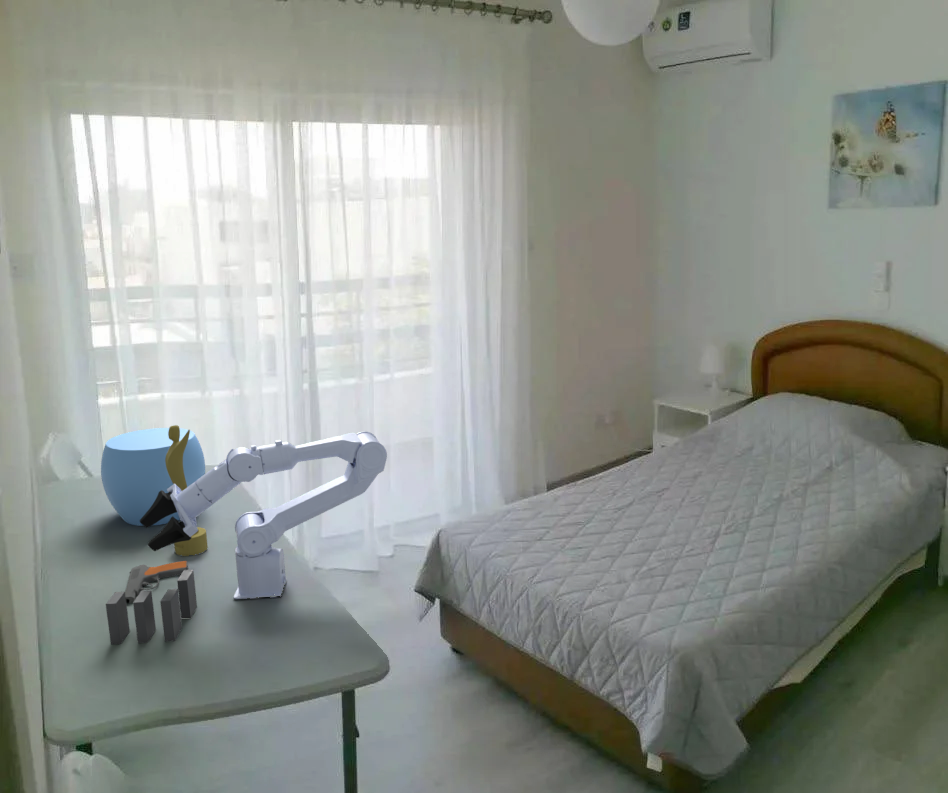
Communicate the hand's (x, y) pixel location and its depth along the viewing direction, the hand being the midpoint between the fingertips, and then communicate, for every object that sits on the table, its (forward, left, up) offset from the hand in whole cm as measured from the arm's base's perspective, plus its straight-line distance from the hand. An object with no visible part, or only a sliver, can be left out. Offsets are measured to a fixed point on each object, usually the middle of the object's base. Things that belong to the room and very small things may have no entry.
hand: (146, 535), depth 162 cm
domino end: (+3, +12, -15) cm, 19 cm away
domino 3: (-8, +4, -15) cm, 17 cm away
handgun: (+3, -11, -16) cm, 19 cm away
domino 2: (-7, +12, -15) cm, 20 cm away
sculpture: (0, -28, -15) cm, 32 cm away
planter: (+15, -54, -15) cm, 58 cm away
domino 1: (-2, +12, -15) cm, 19 cm away
